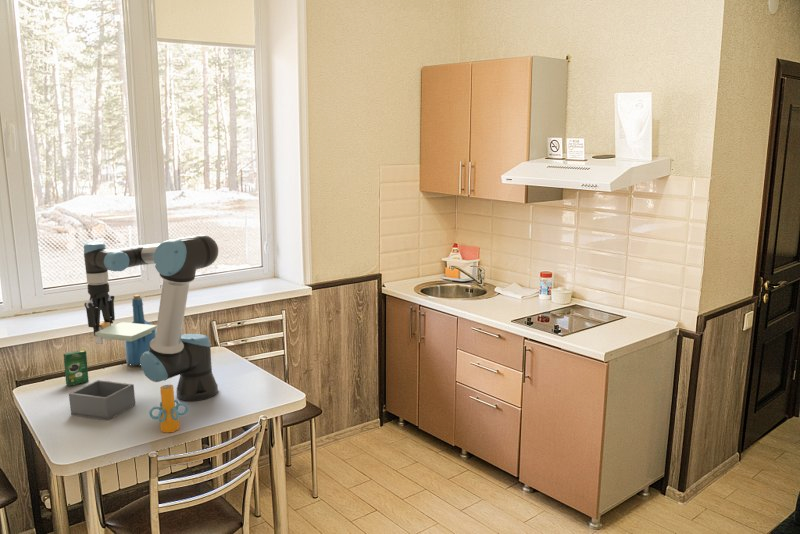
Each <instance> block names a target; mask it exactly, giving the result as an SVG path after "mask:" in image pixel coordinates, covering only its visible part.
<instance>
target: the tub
mask: <svg viewBox="0 0 800 534" xmlns="http://www.w3.org/2000/svg"><path fill="white" fill-rule="evenodd" d="M68 398H69V399H68V400H69V406H70V407H69V408H70V415H71V416H76V417H83V418H89V419H95V420H97V419H98V420H104V421H110V420H111V419H114V418H115V417H117V416H119V415H120V414H122V413H124V412H126V411H127V410H129V409H131V408H133V407H135V406H136V398H135V387H134V384H132V383H126V382H117V381H107V380H101V379H98V380H95V381H93V382H91V383H89V384H86V385H84V386H82V387H80V388H78V389H76V390H74V391H71V392H70V393H68Z"/></svg>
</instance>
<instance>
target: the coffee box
mask: <svg viewBox="0 0 800 534" xmlns="http://www.w3.org/2000/svg"><path fill="white" fill-rule="evenodd" d="M63 364H64V366H63V367H64V373H65V374H64V375H65V376H64V377H65V384H66V386H67V385H68V386H67V387H71V385H73V386H75V385H74V384H76V385H79V383H81V384H85V383H89V382H88V381H90V380H89V371H88V357H87V351H86V350H84V349H81V350H76V351H71V352H66V353H63ZM84 382H85V383H84Z"/></svg>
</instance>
